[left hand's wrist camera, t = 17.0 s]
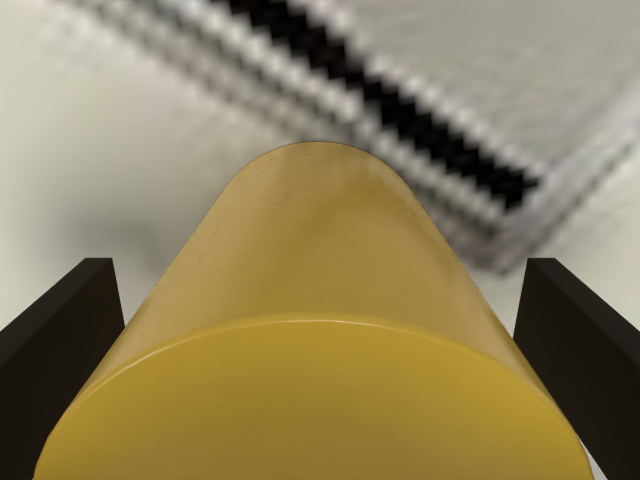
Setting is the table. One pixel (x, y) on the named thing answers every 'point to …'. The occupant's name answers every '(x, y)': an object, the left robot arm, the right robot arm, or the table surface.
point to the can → (314, 349)
